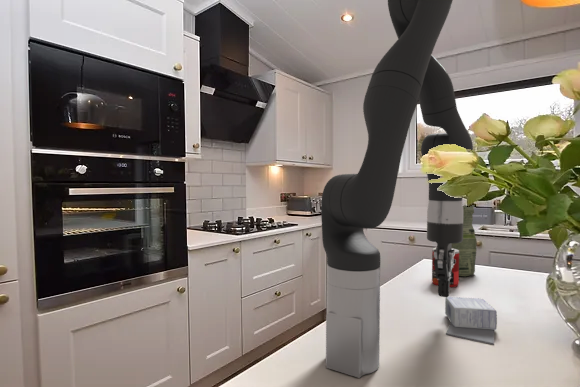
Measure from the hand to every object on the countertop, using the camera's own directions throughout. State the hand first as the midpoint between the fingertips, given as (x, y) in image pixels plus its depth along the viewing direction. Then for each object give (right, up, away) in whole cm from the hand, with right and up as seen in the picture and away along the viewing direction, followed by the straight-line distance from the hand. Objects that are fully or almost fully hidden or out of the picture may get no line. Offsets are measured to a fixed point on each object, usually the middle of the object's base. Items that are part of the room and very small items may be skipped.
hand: (443, 295), depth 79 cm
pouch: (+25, -5, +44) cm, 50 cm away
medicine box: (+1, -4, 0) cm, 4 cm away
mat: (+5, -6, -3) cm, 8 cm away
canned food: (+14, -6, +30) cm, 34 cm away
